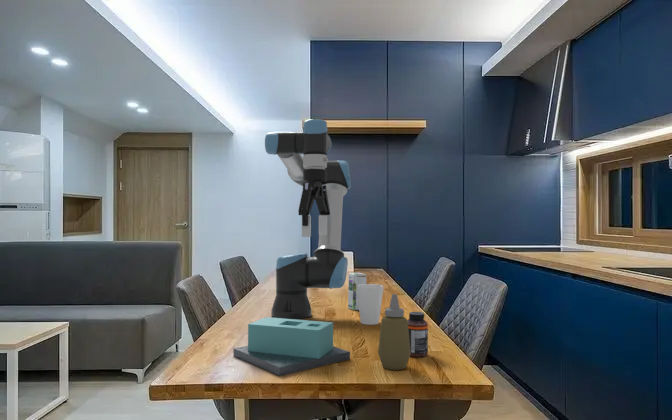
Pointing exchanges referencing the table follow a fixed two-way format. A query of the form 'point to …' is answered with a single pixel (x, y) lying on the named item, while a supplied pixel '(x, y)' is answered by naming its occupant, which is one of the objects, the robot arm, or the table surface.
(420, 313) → the supplement bottle
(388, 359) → the squeeze bottle
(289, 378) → the table surface
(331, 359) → the base
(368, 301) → the foam cup
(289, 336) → the teal block with holes
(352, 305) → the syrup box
